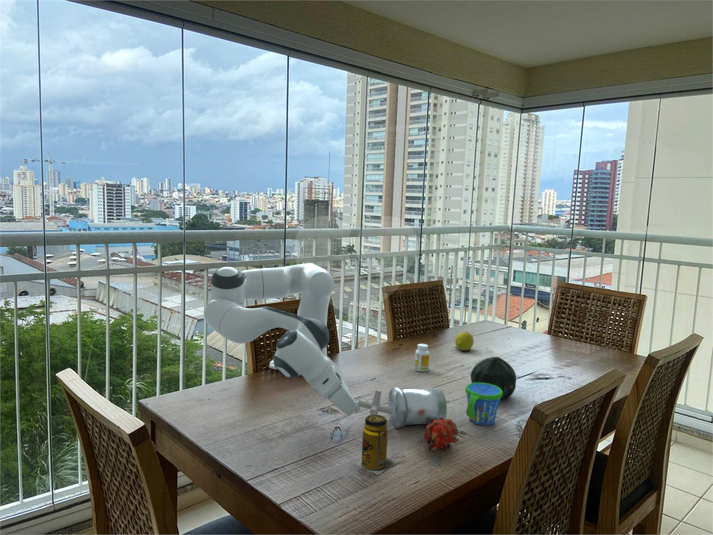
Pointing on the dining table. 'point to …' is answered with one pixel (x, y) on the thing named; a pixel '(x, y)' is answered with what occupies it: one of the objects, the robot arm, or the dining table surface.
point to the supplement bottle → (422, 358)
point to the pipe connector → (375, 404)
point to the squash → (495, 375)
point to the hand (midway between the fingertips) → (358, 409)
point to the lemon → (464, 341)
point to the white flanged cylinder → (416, 406)
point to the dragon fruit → (441, 434)
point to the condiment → (375, 445)
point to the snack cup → (482, 402)
